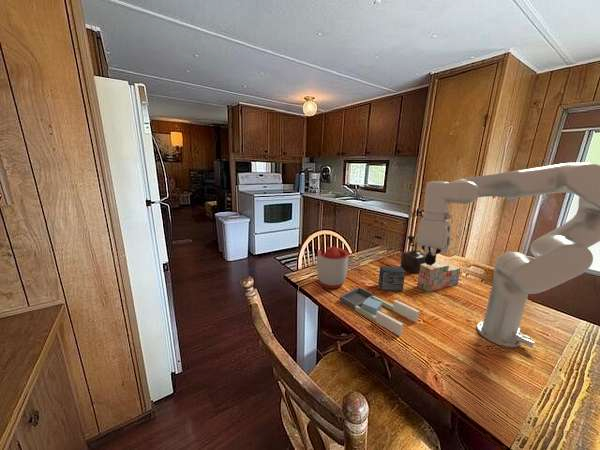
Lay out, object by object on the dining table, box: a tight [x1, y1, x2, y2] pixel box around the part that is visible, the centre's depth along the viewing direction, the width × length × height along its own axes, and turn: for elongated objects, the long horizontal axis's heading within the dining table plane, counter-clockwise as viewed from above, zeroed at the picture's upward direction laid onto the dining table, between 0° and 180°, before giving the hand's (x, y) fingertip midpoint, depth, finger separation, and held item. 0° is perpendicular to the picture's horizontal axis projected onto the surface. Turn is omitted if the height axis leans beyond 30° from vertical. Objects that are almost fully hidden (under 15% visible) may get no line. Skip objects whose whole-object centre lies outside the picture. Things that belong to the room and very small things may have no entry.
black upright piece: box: [399, 235, 427, 274], centre depth 142 cm, size 16×11×18 cm
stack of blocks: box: [416, 260, 461, 292], centre depth 122 cm, size 21×6×12 cm, turn 112°
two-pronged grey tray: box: [339, 286, 420, 337], centre depth 101 cm, size 29×14×4 cm, turn 39°
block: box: [361, 297, 383, 316], centre depth 101 cm, size 6×6×4 cm
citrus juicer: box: [316, 246, 350, 290], centre depth 122 cm, size 16×17×20 cm
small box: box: [378, 265, 406, 293], centre depth 119 cm, size 11×6×10 cm, turn 84°
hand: (430, 264), depth 91 cm, fingers closed
